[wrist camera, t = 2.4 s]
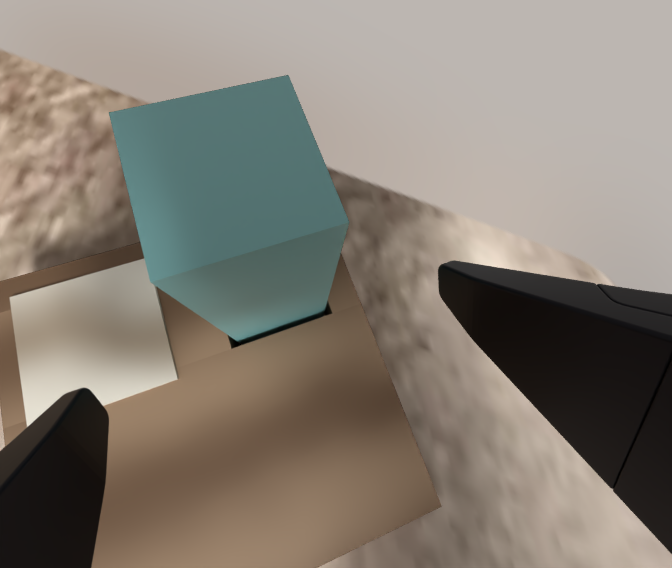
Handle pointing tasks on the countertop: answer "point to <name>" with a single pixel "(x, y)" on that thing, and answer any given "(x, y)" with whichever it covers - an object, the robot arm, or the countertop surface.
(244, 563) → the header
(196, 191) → the plug
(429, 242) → the countertop surface
